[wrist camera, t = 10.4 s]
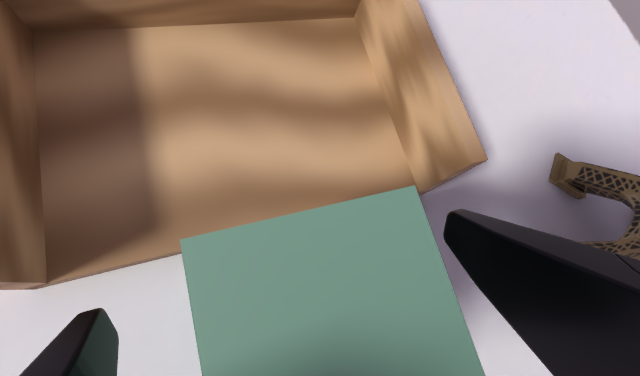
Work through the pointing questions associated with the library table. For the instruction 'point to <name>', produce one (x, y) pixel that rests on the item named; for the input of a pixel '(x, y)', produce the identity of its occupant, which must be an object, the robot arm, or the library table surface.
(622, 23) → the library table surface
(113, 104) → the oak crate
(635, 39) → the library table surface
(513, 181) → the library table surface
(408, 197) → the green block
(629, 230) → the eiffel tower
